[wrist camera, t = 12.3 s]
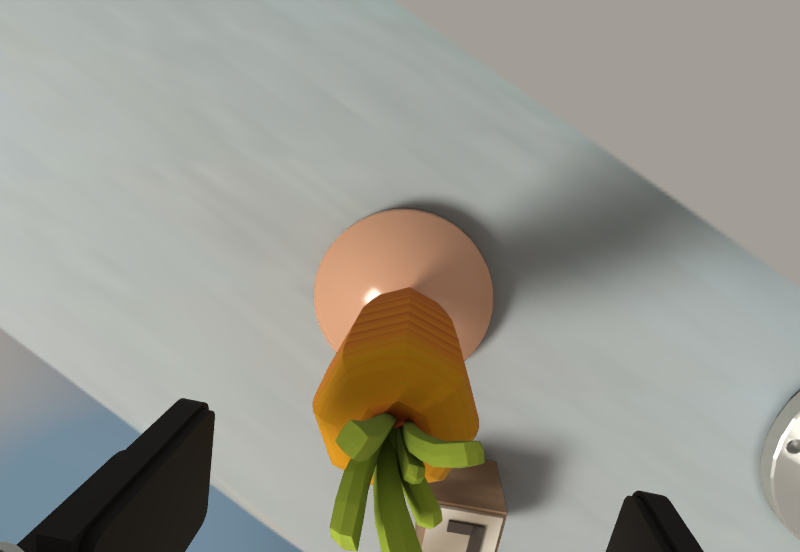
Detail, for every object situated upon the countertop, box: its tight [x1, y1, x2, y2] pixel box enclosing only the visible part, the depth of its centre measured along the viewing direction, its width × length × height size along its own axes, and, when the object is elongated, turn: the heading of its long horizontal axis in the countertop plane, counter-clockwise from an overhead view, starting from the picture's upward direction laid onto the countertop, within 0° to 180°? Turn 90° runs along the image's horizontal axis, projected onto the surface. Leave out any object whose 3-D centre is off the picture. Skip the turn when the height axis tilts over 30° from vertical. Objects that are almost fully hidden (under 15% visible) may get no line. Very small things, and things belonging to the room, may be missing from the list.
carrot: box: [313, 287, 485, 552], centre depth 16 cm, size 5×5×15 cm
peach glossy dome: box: [314, 208, 494, 361], centre depth 24 cm, size 9×9×1 cm
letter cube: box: [415, 460, 507, 552], centre depth 26 cm, size 4×4×4 cm
